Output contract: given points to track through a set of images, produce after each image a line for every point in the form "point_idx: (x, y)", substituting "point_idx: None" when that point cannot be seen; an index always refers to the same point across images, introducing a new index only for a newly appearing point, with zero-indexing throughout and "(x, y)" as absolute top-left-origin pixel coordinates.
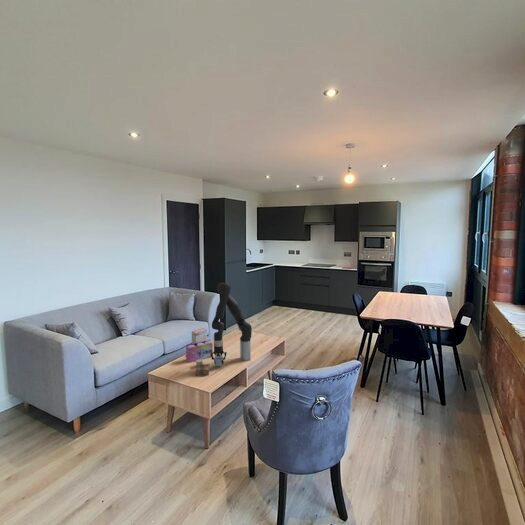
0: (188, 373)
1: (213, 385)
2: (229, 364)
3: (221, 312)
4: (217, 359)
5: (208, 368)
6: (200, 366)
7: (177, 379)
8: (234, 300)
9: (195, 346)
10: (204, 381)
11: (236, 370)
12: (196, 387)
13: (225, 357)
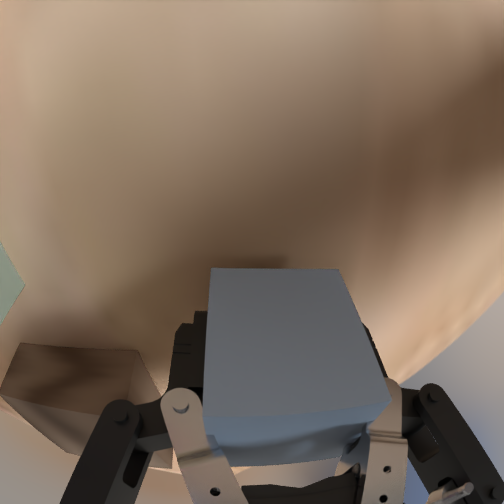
0: (5, 374)
1: (240, 467)
2: (441, 206)
3: None
4: (258, 461)
5: (162, 461)
6: (57, 428)
7: (12, 411)
8: None
9: None
10: (174, 453)
11: (444, 345)
12: (154, 468)
13: (427, 446)
